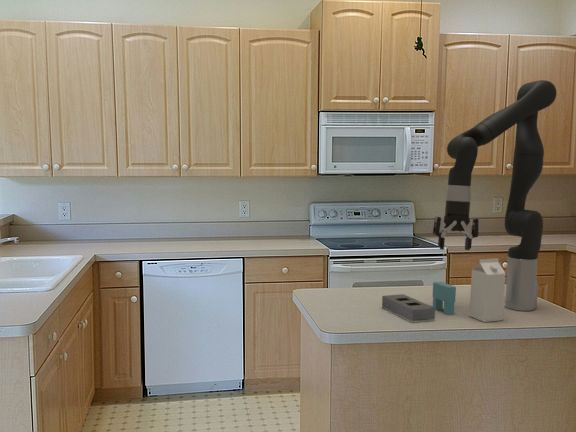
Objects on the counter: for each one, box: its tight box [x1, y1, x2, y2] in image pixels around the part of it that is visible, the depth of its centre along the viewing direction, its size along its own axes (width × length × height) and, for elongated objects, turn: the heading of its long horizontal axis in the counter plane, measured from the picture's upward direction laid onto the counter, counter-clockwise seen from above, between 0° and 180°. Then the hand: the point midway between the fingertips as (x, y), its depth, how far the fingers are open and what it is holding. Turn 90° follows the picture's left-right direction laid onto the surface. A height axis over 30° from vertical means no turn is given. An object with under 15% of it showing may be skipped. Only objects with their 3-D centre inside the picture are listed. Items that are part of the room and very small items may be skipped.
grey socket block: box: [381, 293, 436, 324], centre depth 183 cm, size 18×8×4 cm, turn 21°
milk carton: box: [469, 258, 506, 323], centre depth 178 cm, size 7×7×19 cm
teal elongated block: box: [432, 281, 457, 316], centre depth 186 cm, size 8×3×9 cm, turn 21°
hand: (454, 249), depth 185 cm, fingers open, 8 cm apart
